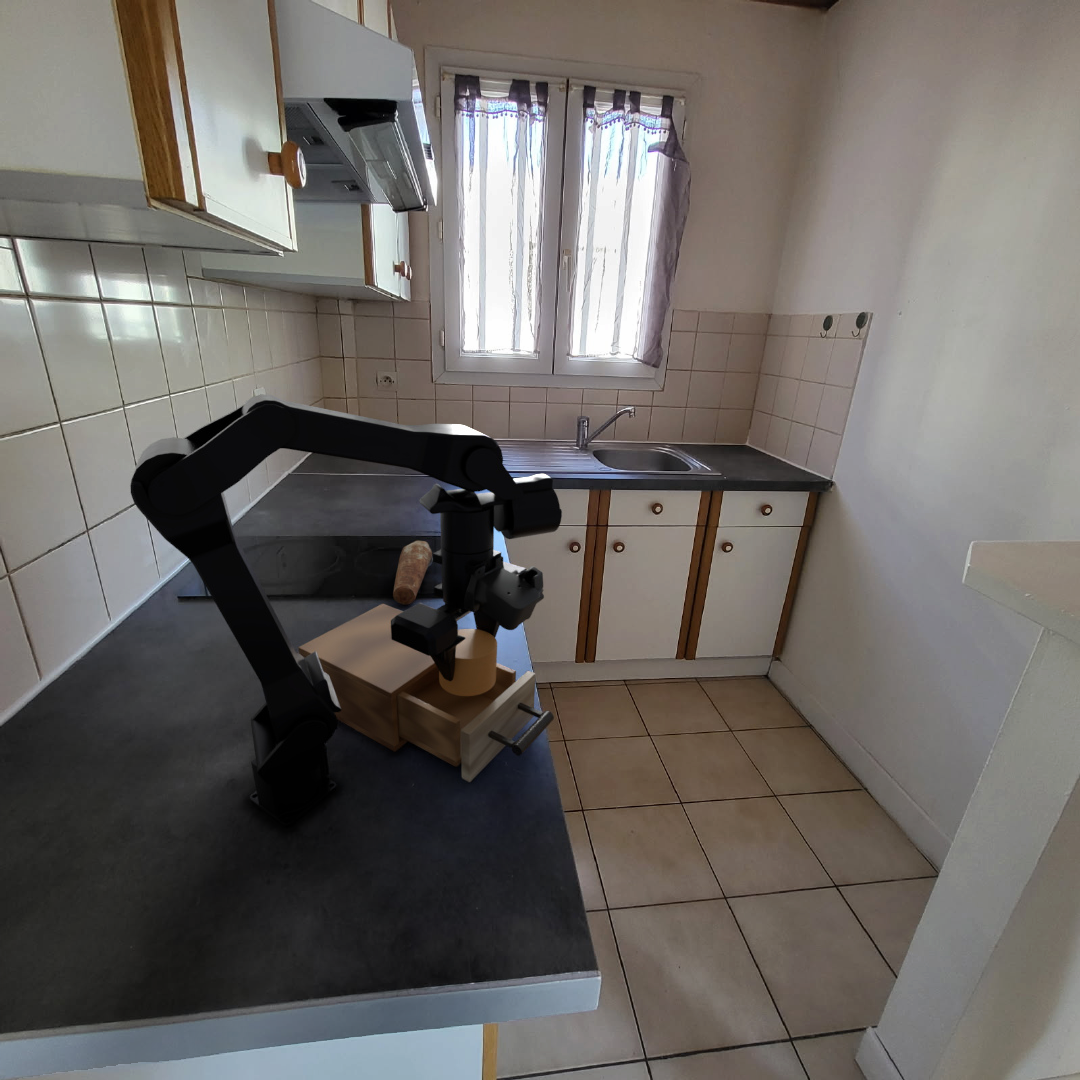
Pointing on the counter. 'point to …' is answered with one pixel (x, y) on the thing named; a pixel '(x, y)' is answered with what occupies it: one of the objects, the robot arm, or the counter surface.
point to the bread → (411, 571)
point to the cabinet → (369, 672)
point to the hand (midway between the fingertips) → (467, 664)
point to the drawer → (470, 719)
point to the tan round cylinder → (473, 664)
